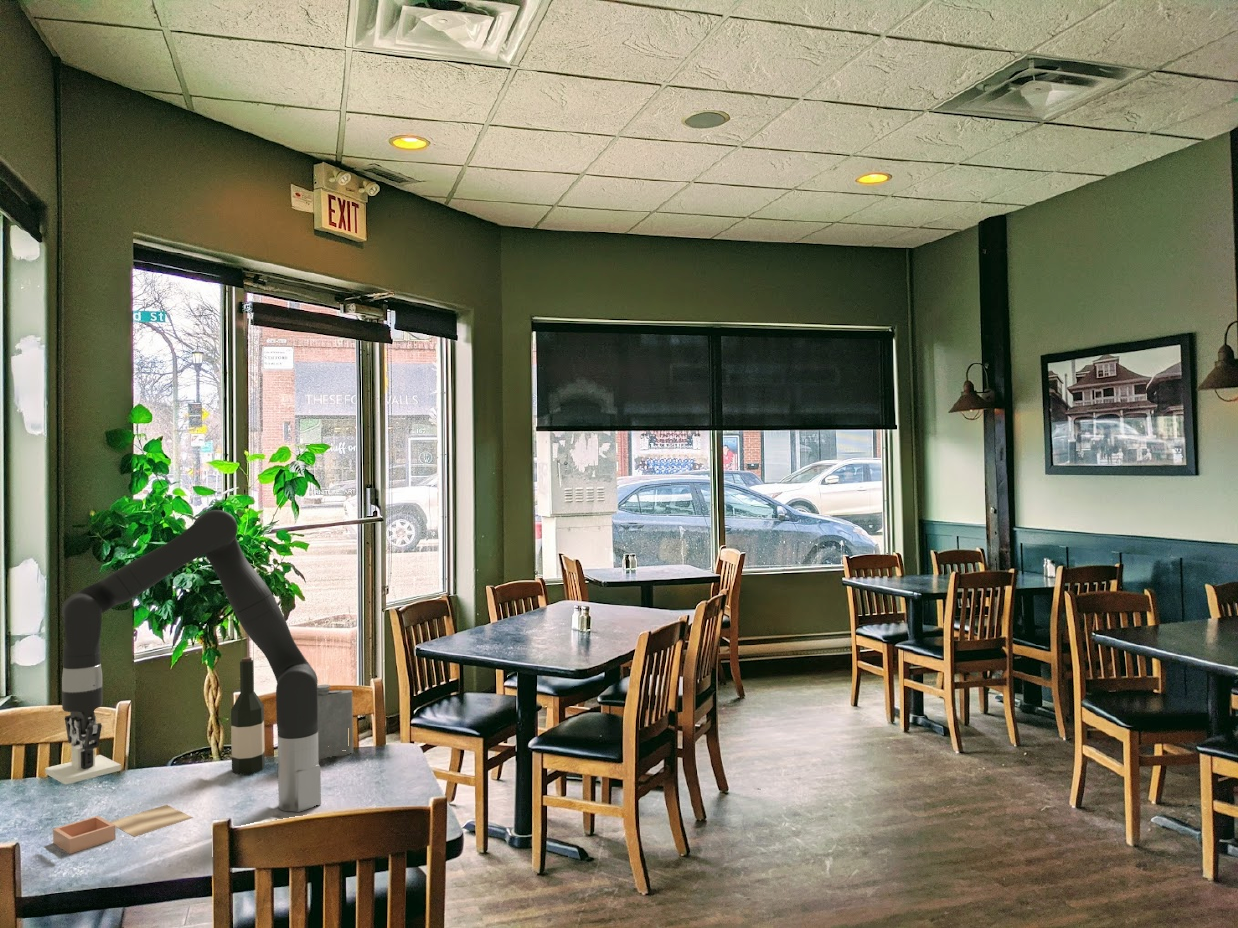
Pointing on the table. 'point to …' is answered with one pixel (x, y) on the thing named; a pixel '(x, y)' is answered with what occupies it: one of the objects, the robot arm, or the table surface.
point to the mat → (150, 820)
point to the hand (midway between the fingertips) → (83, 765)
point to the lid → (74, 771)
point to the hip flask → (334, 722)
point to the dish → (84, 834)
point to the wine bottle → (247, 725)
